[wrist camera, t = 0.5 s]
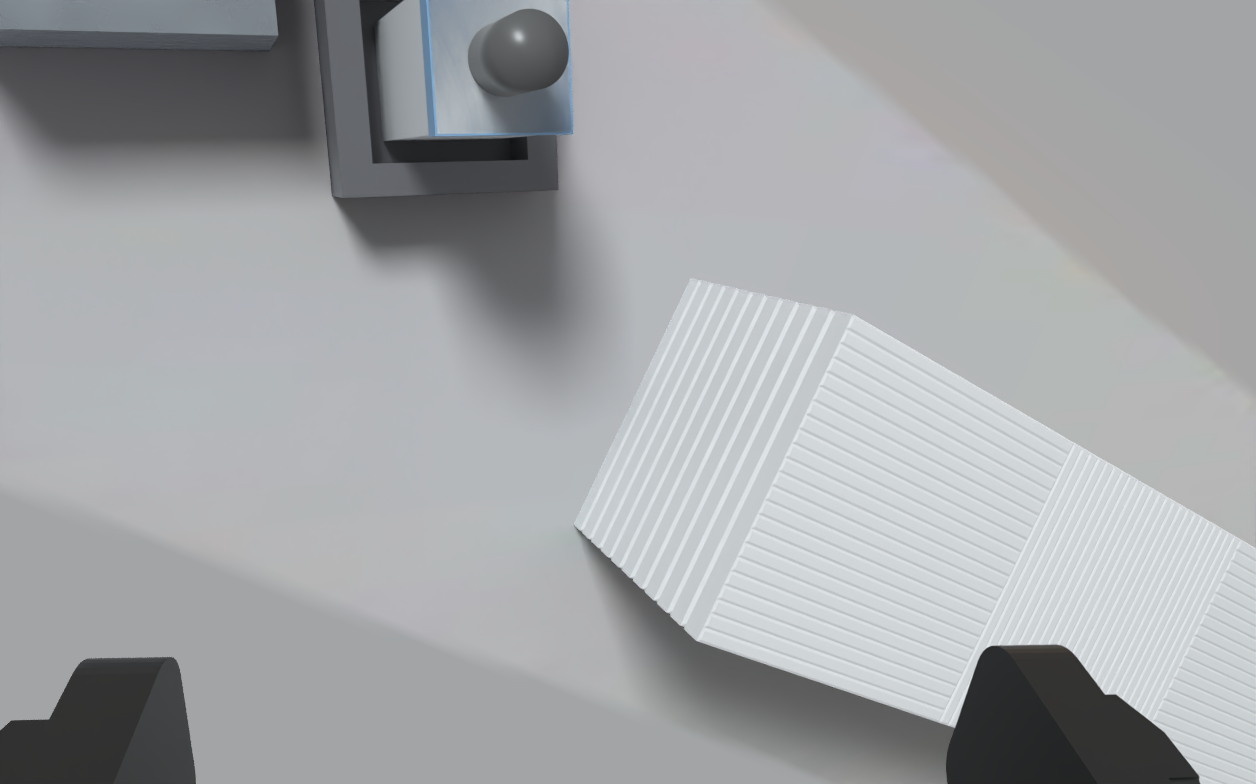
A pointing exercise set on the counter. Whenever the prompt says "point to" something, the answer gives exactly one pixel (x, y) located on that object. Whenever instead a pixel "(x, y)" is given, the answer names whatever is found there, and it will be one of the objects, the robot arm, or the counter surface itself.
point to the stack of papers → (911, 528)
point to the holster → (405, 166)
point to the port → (140, 24)
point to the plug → (474, 69)
